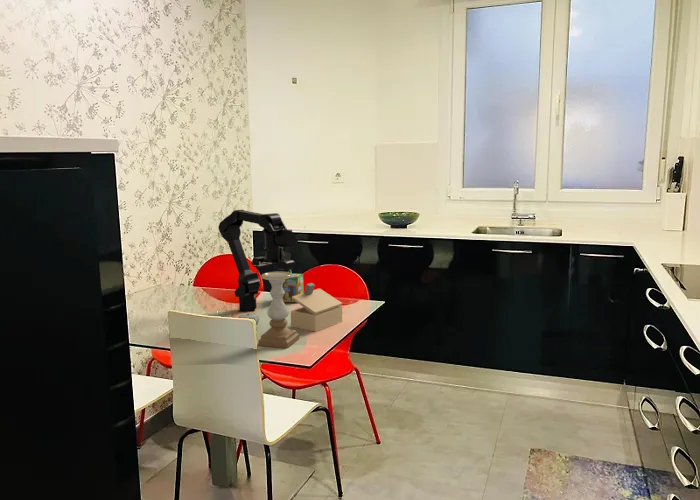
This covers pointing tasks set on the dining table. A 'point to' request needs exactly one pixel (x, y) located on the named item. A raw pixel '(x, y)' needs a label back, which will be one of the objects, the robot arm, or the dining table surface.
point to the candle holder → (278, 315)
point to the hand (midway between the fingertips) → (273, 283)
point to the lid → (316, 300)
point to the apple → (250, 316)
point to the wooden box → (315, 318)
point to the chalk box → (292, 287)
